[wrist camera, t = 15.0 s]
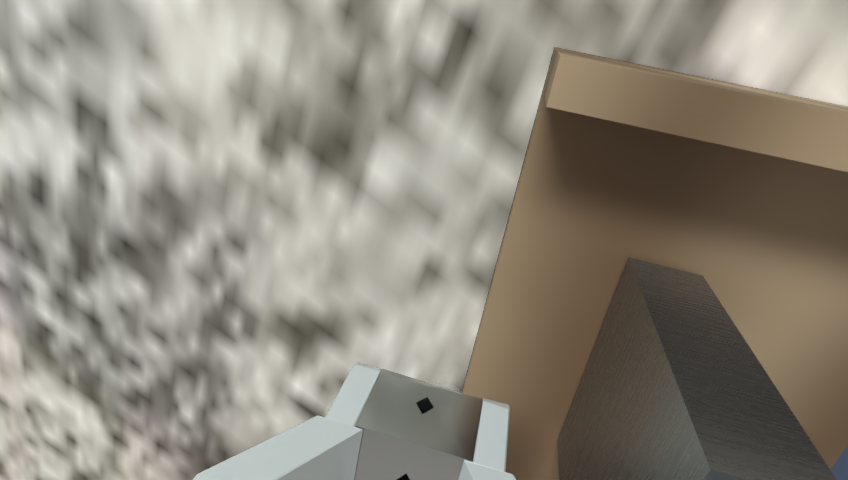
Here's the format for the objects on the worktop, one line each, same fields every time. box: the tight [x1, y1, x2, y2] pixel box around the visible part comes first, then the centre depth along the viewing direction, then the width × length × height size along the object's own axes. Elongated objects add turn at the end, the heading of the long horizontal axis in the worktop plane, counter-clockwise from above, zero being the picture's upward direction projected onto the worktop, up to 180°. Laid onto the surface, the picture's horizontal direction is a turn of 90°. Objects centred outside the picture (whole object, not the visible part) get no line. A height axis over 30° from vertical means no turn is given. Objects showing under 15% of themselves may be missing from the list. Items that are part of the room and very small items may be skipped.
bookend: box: [557, 257, 837, 480], centre depth 10 cm, size 2×6×6 cm, turn 170°
